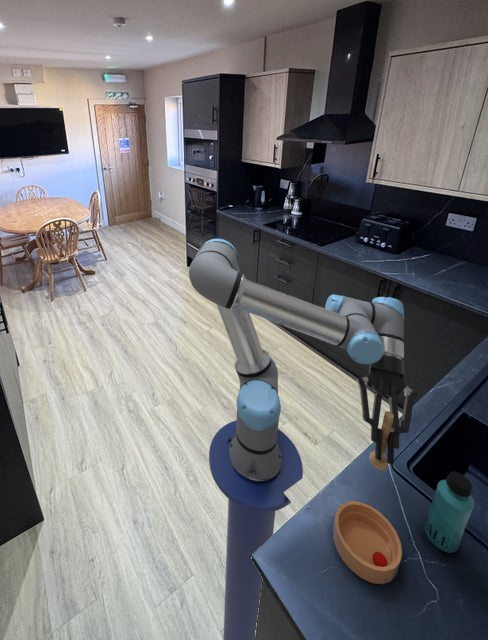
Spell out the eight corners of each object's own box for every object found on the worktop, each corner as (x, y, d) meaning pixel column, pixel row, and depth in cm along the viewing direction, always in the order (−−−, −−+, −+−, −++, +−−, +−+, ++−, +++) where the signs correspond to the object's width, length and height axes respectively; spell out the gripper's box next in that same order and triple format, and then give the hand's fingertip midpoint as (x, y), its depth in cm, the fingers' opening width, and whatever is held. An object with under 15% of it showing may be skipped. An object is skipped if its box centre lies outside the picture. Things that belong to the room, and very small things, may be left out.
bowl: (320, 535, 75) (323, 521, 74) (354, 504, 81) (357, 490, 80) (374, 601, 65) (379, 586, 63) (409, 560, 71) (414, 545, 69)
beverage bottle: (455, 536, 75) (478, 474, 69) (458, 566, 70) (483, 502, 63) (421, 518, 78) (440, 458, 72) (422, 546, 73) (442, 484, 67)
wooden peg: (365, 457, 80) (375, 410, 75) (377, 452, 82) (387, 405, 77) (379, 472, 77) (390, 423, 72) (391, 466, 78) (403, 418, 73)
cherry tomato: (389, 571, 68) (378, 557, 71) (391, 560, 68) (380, 546, 71) (379, 575, 68) (368, 560, 70) (381, 564, 67) (370, 549, 70)
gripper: (416, 366, 84) (417, 471, 74) (352, 352, 89) (346, 448, 80) (425, 362, 77) (428, 476, 68) (356, 347, 83) (350, 451, 74)
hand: (384, 461), depth 74 cm, fingers closed on wooden peg, 2 cm apart
